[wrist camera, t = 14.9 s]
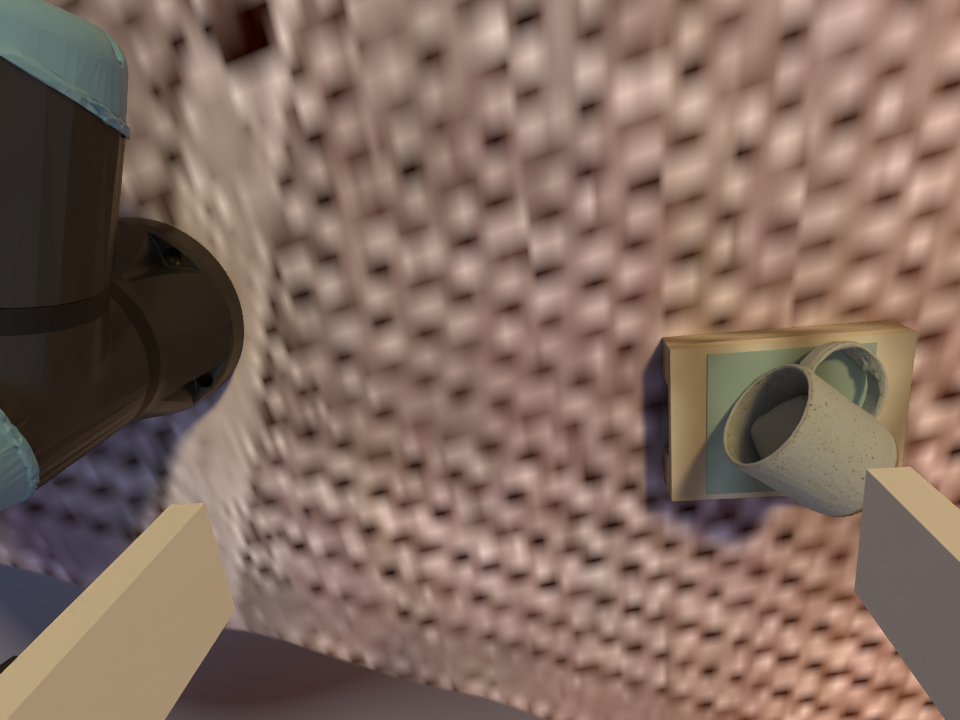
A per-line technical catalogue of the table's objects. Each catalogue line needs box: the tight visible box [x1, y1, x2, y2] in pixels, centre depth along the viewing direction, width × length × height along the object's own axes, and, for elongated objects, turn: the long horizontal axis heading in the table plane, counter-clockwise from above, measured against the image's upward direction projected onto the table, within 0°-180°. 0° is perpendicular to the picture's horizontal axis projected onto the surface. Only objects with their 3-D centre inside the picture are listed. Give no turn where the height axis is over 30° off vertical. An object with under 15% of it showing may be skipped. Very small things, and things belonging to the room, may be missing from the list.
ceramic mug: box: [723, 341, 899, 517], centre depth 41 cm, size 11×8×8 cm
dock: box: [662, 320, 917, 501], centre depth 46 cm, size 16×12×3 cm
